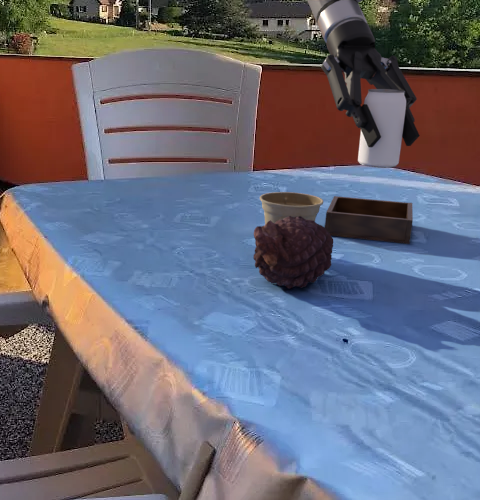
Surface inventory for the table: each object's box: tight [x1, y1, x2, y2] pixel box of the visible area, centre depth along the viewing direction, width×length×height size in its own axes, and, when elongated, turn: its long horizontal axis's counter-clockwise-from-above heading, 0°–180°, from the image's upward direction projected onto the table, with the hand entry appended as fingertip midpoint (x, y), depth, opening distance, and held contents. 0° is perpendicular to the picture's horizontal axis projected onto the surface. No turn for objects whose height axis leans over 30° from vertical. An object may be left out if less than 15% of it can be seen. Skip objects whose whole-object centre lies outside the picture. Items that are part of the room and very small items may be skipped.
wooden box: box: [324, 195, 414, 245], centre depth 123 cm, size 14×14×4 cm
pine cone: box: [253, 216, 334, 290], centre depth 95 cm, size 18×10×10 cm
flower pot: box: [259, 191, 324, 225], centre depth 108 cm, size 9×9×9 cm
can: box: [357, 88, 406, 169], centre depth 115 cm, size 6×6×12 cm
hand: (394, 141), depth 113 cm, fingers closed on can, 6 cm apart
